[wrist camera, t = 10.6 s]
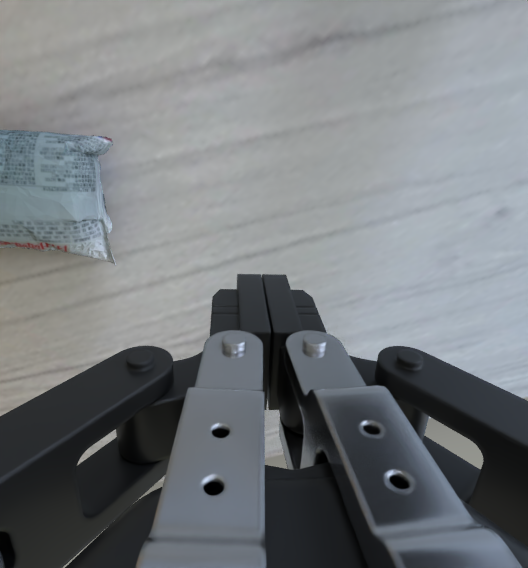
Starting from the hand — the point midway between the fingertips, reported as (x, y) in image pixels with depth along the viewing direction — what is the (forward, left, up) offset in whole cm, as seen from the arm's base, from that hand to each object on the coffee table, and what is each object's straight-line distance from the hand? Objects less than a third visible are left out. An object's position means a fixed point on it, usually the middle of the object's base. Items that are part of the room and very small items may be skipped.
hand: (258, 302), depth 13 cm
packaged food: (+1, -14, -20) cm, 24 cm away
